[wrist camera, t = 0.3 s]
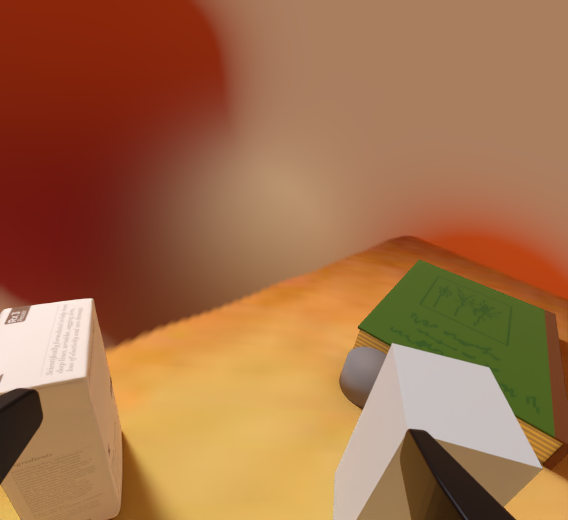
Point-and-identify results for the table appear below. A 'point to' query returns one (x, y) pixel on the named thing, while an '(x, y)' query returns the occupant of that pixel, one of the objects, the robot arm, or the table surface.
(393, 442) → the light grey block
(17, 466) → the skincare box
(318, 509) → the table surface
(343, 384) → the grey rounded dome
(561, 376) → the hardcover book
